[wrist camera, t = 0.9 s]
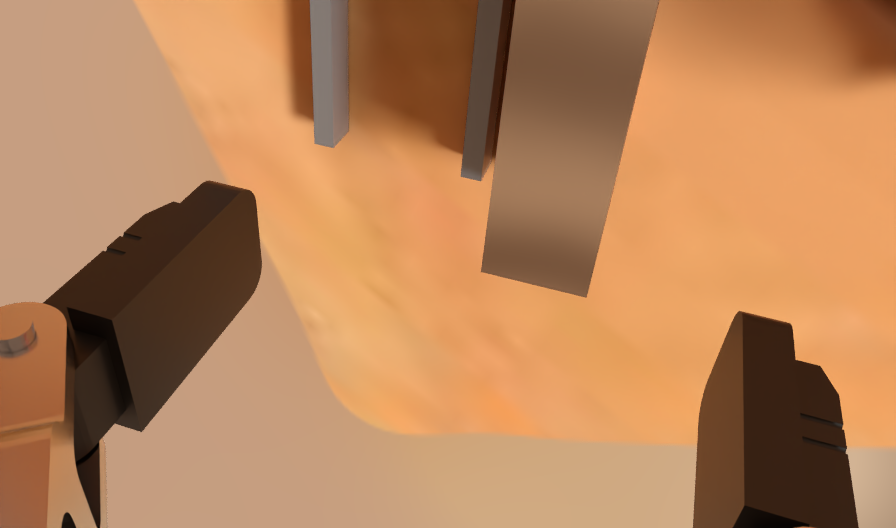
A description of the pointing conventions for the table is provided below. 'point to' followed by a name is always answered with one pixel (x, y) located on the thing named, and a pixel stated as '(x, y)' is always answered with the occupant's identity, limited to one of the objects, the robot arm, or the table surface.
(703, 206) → the table surface
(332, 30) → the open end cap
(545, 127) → the walnut slat
